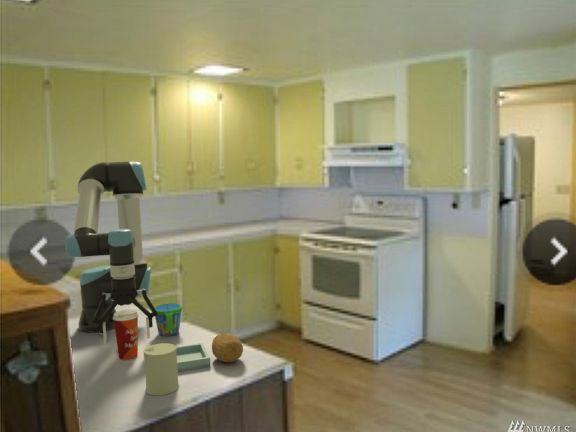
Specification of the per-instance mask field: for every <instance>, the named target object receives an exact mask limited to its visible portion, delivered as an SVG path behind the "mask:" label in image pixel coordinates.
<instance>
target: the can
mask: <svg viewBox="0 0 576 432" xmlns="http://www.w3.org/2000/svg"><path fill="white" fill-rule="evenodd" d="M177 347H178V346H176V344H173V343H165V342H161V343H156V344H151V345H149V346H146V347H145V348H144V349H143V357H144V361H143V362H144V372H145V373H144V374H145V392H146V393H147V394H148V395H152V396H163V395H164V396H165V395H169V394H172V393H174V392H176V391H177V390H178V389H179V388H180V384H179V374H178V373H179V372H178V371H177Z"/></svg>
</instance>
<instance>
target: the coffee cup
mask: <svg viewBox="0 0 576 432" xmlns="http://www.w3.org/2000/svg"><path fill="white" fill-rule="evenodd" d="M139 316H140V315H139V314H138V311H137V310H135V309H121V310H118V311H116V312H115V313H114V316H113V318H112V319H113V320H114V326H115V328H114V331H115V340H116V347H117V355H118V359H119V360H121V361H130V360H134V359H136V358H137V357H138V354H139V352H138V350H139V348H138V347H139V345H138V343H139V340H138V339H139V337H138V335H139V333H138V332H139V331H138V329H139V328H138V326H139V323H138V322H139V320H138V318H139Z"/></svg>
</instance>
